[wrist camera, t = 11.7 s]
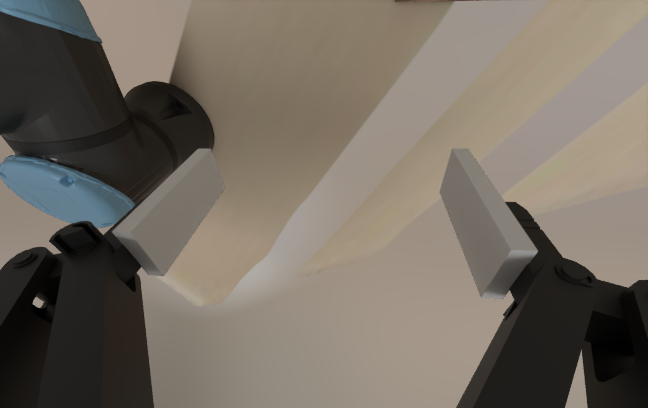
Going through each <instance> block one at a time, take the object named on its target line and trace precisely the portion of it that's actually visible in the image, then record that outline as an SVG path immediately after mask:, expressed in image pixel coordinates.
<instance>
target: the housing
mask: <svg viewBox="0 0 648 408" xmlns="http://www.w3.org/2000/svg"><path fill="white" fill-rule="evenodd" d="M400 1H474V0H395V2H400ZM475 1H479V0H475Z"/></svg>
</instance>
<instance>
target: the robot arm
mask: <svg viewBox="0 0 648 408" xmlns="http://www.w3.org/2000/svg"><path fill="white" fill-rule="evenodd" d="M101 43H102V40H101V39H100V38H99V37H98V36H97V34H96V32H95V30H94V29H93V26H92V25H91V22H90V20H89V18H88V16H87V14H86V12H85V10H84V7H83V6H82V4H81V2H80V1H79V0H0V135H1V136H2V137H3V138H4V140H5V141H6V142H7V143H8V145H9V146H10V147H11V148H12V150H13V151H14V152H15V155H14V156H13V155H11V156H8V157H6V158H5V159H4V161H3V162H2V163H1V164H0V177H1V179H2V180H3V182H4V183H5V184H6V185H7V186H8V187H9V188H10V189H11V190H12V191H13V192H15V193H16V194H17V195H18V196H19V197H21V198H22V199H23V200H25V201H27V202H28V203H30V204H31V205H33V206H34V207H36V208H38V209H39V210H41V211H43V212H45V213H47V214H49V215H52V216H54V217H55V218H58V219H60V220H63V221H66V222H69V223H72V224H70V225H68V226H66V227H64V228H62V229H60V230H59V231H57V232H56V233H55V234H54V235H53V236H52V237H51V238H50V240H49V242H51V243H52V244H53V245H54V246H55V247H56V248H57V249H58V250H59V251H60V252H62V253H60V254H55V255H54V254H52V253H51V252H50V251H49V250H48V249H47V248H45V247H36V248H32V249H29V250H25V251H23V252H22V253H19V254H17V255H16V256H15V257H13V258H12V259H10V260H9V261H8V262H7V263H6V264H5V265H4V266H3V267H2V269H1V270H0V408H154V404H153V395H152V386H151V376H150V366H149V357H148V349H147V348H148V347H147V338H146V329H145V320H144V310H143V301H142V291H141V282H140V277H139V275H138V274H137V271H138V270H139V269H140V268H141V267H142V268H143V269H144V270H145V272H146V273H147V274H148V275H157V276H164V275H165V274H166V272H167V271H168V269H169V268H170V267H171V265H172V264H173V262H174V261H175V259H176V258H177V257H178V255H179V254H180V252H181V251H182V249H183V248H184V246H185V245H186V244H187V242H188V241H189V239H190V238H191V236H192V235H193V234H194V232H195V231H196V229H197V228H198V226H199V225H200V223H201V222H202V221H203V219H204V218H205V216H206V215H207V213H208V212H209V211H210V209H211V208H212V206H213V205H214V203H215V202H216V200H217V199H218V198H219V196H220V195H221V193H222V192H223V190H224V189H225V185H224V183H223V180H222V177H221V175H220V172H219V169H218V167H217V164H216V161H215V159H214V156H213V153H212V151H211V150H212V147H213V143H214V134H213V129H212V126H211V123H210V121H209V119H208V117H207V115H206V114H205V112H204V111H203V109H202V108H201V107H200V105H199V104H198V103H197V102H196V101H195V100H194V99H193V98H192V97H191V96H189V95H188V94H187V93H185V92H184V91H183V90H181V89H179V88H177V87H175V86H173V85H171V84H168V83H164V82H157V81H152V82H146V83H144V84H141V85H139V86H137V87H134V88H133V89H131V90H130V91H129V92H128V93H127V94H126V96H125V98H123V95H122V93H121V91H120V88H119V86H118V84H117V81H116V79H115V76H114V74H113V71H112V70H111V67H110V64H109V62H108V59H107V57H106V55H105V52H104V50H103V47H102V45H101ZM153 191H154V192H153ZM152 192H153V193H152ZM440 194H441V197H442V199H443V202H444V204H445V207H446V209H447V212H448V215H449V217H450V220H451V222H452V225H453V227H454V230H455V232H456V235H457V238H458V240H459V243H460V245H461V248H462V250H463V253H464V255H465V258H466V260H467V263H468V265H469V268H470V271H471V273H472V276H473V278H474V281H475V283H476V286H477V288H478V291H479V294H480V296H481V298H494V299H503V298H504V297H505V295H506V294H507V292H508V291H509V290H510V291H511V293H512V296H513V298H514V301H513V303H512V304H511V305H510V307H509V308H508V309H507V310H506V312H505V313H504V314H503V315H504V316H505V317H504V319H503V321H502V323H501V325H500V326H499V328H498V330H497V332H496V334H495V336H494V338H493V340H492V341H491V343H490V345H489V347H488V349H487V351H486V353H485V355H484V356H483V358H482V360H481V362H480V364H479V366H478V368H477V370H476V372H475V373H474V375H473V377H472V379H471V381H470V383H469V385H468V387H467V388H466V390H465V392H464V394H463V396H462V398H461V400H460V401H459V403H458V405H457V407H456V408H565V405H566V402H567V398H568V395H569V391H570V388H571V384H572V380H573V377H574V373H575V370H576V366H577V363H578V359H579V356H580V352H581V349H582V357H583V366H584V376H585V385H586V396H587V405H588V408H648V280H639V281H637V282H636V283H634V284H633V285H632V286H630V287H629V288H627V287H623V286H620V285H615V284H612V283H609V282H605V281H601V280H598V279H596V277H595V276H594V275H593V273H591V272H590V271H589V270H588V269H587V268H585V267H584V266H582V265H580V264H579V263H577V262H575V261H572V260H568V259H565V258H563V257H562V256H561V254H560V253H559V252H558V250H557V249H556V248H555V247H554V245H553V244H552V243H551V241H550V240H549V239H548V237H547V236H546V235H545V233H544V232H543V231H542V230H540V227H539V226H538V224H537V223H536V222H534V219H533V218H532V216H531V215H530V214H529V212H528V211H527V210H526V209H524V208H523V207H522V206H520V205H519V204H517V203H516V202H504V200H503V199H502V197H501V196H500V194H499V193H498V191H497V190H496V189H495V187H494V186H493V184H492V183H491V181H490V180H489V178H488V177H487V175H486V174H485V172H484V171H483V170H482V168H481V167H480V165H479V164H478V162H477V161H476V159H475V158H474V156H473V155H472V153H471V152H470V151H469V149H452V151H451V155H450V158H449V162H448V165H447V168H446V172H445V175H444V179H443V182H442V186H441V189H440ZM115 223H116V224H115ZM113 224H115V225H114V226H113V227H111V228H110V230H108V231H107V232H106V233H105V234H104V235H102V234H101V233H100V231H99V230H98V229H97V228H103V227H108V226H111V225H113ZM35 297H38V298H39V299H40V300H42V301H44V303H43V305H42V307H41V308H37V307H36V306H34V305H33V304H32V303H33V300H34V298H35Z"/></svg>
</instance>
